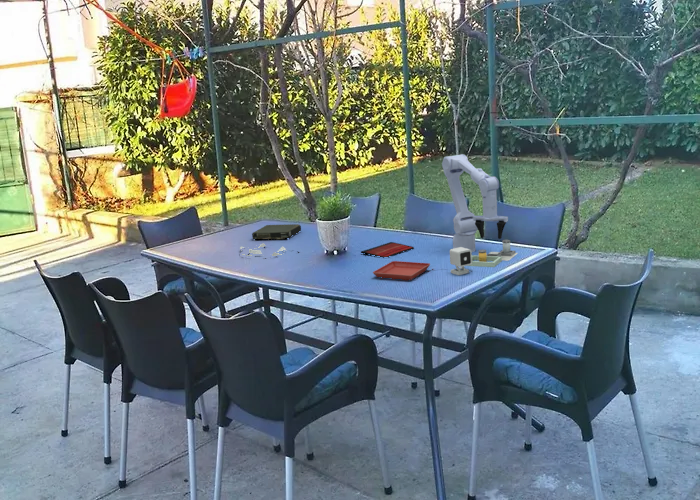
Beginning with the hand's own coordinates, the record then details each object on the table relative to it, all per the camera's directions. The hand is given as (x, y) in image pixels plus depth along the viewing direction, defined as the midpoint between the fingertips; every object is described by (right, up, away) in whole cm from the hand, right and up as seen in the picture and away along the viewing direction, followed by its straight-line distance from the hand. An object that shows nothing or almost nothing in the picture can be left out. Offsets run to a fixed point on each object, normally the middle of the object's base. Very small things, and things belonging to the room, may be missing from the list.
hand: (491, 238), depth 293 cm
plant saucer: (-38, -16, -6) cm, 42 cm away
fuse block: (+4, -9, +4) cm, 11 cm away
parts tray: (-4, -12, -5) cm, 13 cm away
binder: (-41, -6, +35) cm, 54 cm away
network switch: (-100, +2, +93) cm, 136 cm away
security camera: (-15, -15, -12) cm, 24 cm away
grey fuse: (+8, -7, +6) cm, 12 cm away
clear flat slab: (-102, -7, +55) cm, 116 cm away
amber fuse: (-4, -11, -5) cm, 13 cm away
